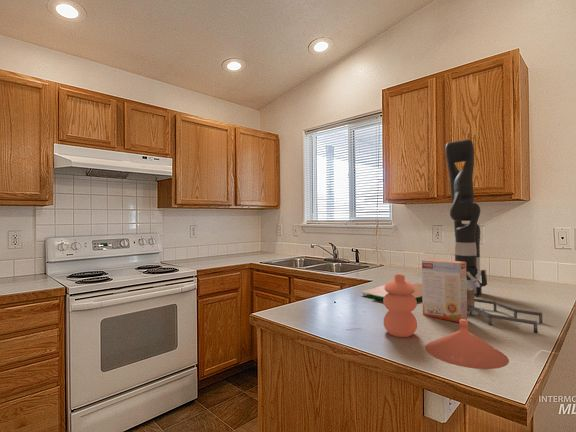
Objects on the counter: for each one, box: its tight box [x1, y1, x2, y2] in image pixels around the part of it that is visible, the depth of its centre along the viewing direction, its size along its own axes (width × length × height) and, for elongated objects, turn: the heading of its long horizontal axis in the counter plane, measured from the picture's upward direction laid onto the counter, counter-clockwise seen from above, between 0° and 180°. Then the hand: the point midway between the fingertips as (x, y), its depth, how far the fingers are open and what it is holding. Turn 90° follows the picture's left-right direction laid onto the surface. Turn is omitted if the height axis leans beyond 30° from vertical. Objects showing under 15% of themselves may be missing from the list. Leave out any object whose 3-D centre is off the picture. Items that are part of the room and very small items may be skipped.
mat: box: [467, 307, 485, 316], centre depth 136 cm, size 10×11×1 cm
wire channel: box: [467, 298, 544, 334], centre depth 128 cm, size 32×22×4 cm
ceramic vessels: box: [382, 273, 510, 370], centre depth 99 cm, size 35×21×19 cm, turn 39°
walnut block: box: [467, 288, 476, 311], centre depth 136 cm, size 5×5×8 cm
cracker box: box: [421, 258, 468, 324], centre depth 126 cm, size 14×6×21 cm, turn 41°
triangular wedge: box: [361, 282, 422, 301], centre depth 159 cm, size 23×33×8 cm
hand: (466, 295), depth 136 cm, fingers open, 8 cm apart
